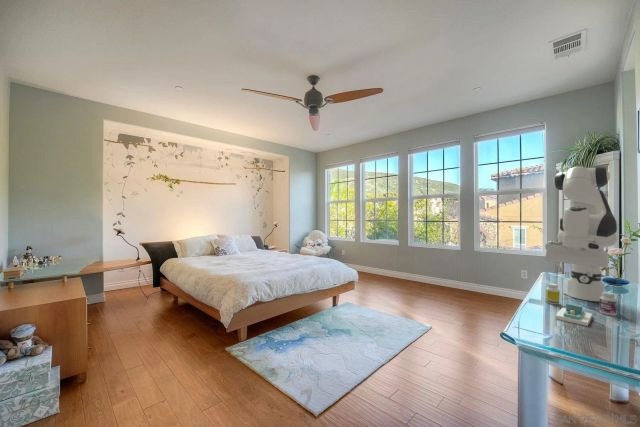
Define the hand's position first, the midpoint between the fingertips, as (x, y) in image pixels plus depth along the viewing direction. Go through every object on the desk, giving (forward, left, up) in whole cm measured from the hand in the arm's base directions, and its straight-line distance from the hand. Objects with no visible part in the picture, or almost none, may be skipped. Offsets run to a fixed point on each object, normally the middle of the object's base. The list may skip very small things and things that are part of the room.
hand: (574, 274), depth 119 cm
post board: (+1, 0, -19) cm, 19 cm away
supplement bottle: (-18, -10, -20) cm, 28 cm away
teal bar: (+1, 0, -18) cm, 18 cm away
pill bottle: (-19, +9, -20) cm, 29 cm away
